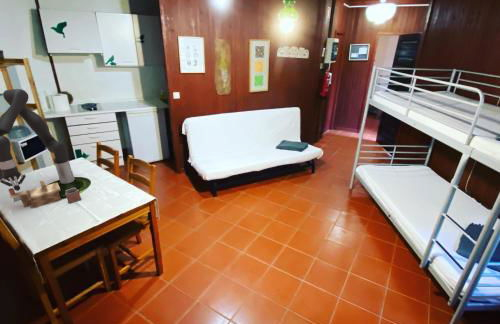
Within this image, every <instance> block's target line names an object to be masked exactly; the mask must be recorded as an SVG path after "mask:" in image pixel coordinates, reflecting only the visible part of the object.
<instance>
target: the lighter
mask: <svg viewBox="0 0 500 324" xmlns="http://www.w3.org/2000/svg"><path fill="white" fill-rule="evenodd" d="M64 194H65V196H66V200H67V204H73V203H76V202H79V201H82V197H81V193H80V189H77V188H76V187H71V188H69V189H66V190H65V193H64Z"/></svg>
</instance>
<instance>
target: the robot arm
mask: <svg viewBox="0 0 500 324" xmlns="http://www.w3.org/2000/svg"><path fill="white" fill-rule="evenodd" d="M2 95H3V99H4V100H5V101H6V103H7V104H8V105H10V106H9V107H8V108H7V109H6V111H4V112H3V114H2V115H1V116H0V171H1V174H2V178H1V179H0V183H1V184H3V185H5V186H7V187H12V188H13V189H14V191H15V192H18V191H19V192H20V190H21V186H20V185H21V184H23V182H24V180H25V178H26V176H27V175H26V174H22V173H21V172H20V170H19V168H18V166H17V164H16V161H15V159H14V157H13V155H12V153H11V152H12V151H11V150H12V149H11V140H10V139H9V138H8V136H5V135H8V134H10V133H11V131H13V130H12V129H13V127H14V125H15V123H16V120H17V118H18V117H19V116H20V117H21V118H22V119H23V120H24V122H25V123H26V124H27V125H28V126H29V127H30V129H31V130H32V132H34V133H35V135H36V136H37V137H38V138H39V139H40V140H41V142H42V144H43V145H44V146H45V147H46V149H47V150H48V151H49V152H51V153H52V154H54V158H53V163H54V166H55V170H56V172H57V176H58V179H59V182H60V183H61V184H64V185H66V184H71V183H73V182H75V181H76V179H75V175H74V173H73V170H72V167H71V164H70V160H69V156H70V155H69V152H68V148H67V145H66V144H65V143H64V142H61V141H58V140H56V139H55V137H54V136H53V135H52V134H51V132H50V128H49V125H48V123H47V122H46V121H45V119H44V118H43V117H42V116H41V115H39V113H37V112H35V111H34V110H32V109H31V108H29V107H28V106H27V105H26V104H28V103H27V102H28V101H29V94H28V93H27V91H26V90H24V89H22V88H15V89H13V88H12V89H6V90H4V91H3V93H2ZM19 179H20V180H19ZM18 180H19V181H18ZM74 180H75V181H74Z"/></svg>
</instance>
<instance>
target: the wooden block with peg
mask: <svg viewBox="0 0 500 324" xmlns="http://www.w3.org/2000/svg"><path fill="white" fill-rule="evenodd" d="M7 190H8V192H9V196H10V198H11V199H13V198H15V197H19V196H23V195H26V194H27V192H26V191H27V190H23V191H19V192H18V191H17V192H16V190H14V187H11V188H8V189H7Z"/></svg>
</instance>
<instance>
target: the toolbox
mask: <svg viewBox="0 0 500 324" xmlns="http://www.w3.org/2000/svg"><path fill="white" fill-rule="evenodd" d="M59 192H60V191H58V192H54V193H51V194H47V195H43V196H40V197H36V198H33V199H32V198H31V195H30V191H29V192H28V193H27V194H26V195H23V196H20V198H21V200H20V201H21V203H22V205H23V207H24V208H27V207H31V209H35V208H38V207H42V206H45V205H49V204H52V203H56V202H59V201H61V200H62V198H61V195H60V193H59Z"/></svg>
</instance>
